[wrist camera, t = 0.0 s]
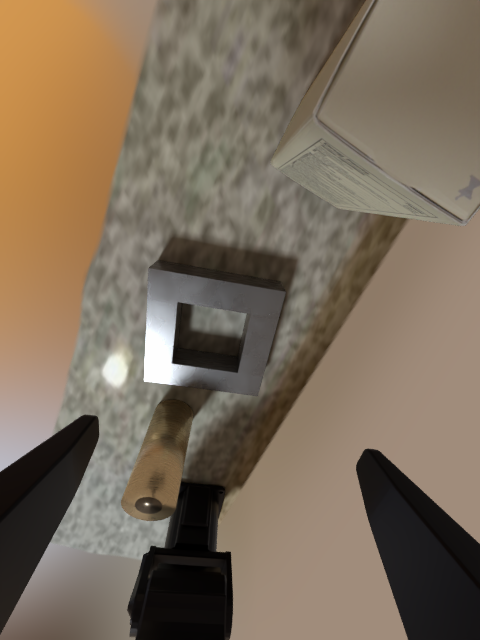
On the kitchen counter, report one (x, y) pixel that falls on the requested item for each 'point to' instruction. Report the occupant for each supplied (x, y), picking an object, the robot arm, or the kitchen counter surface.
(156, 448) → the bushing
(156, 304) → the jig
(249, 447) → the kitchen counter surface
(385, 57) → the skincare box
